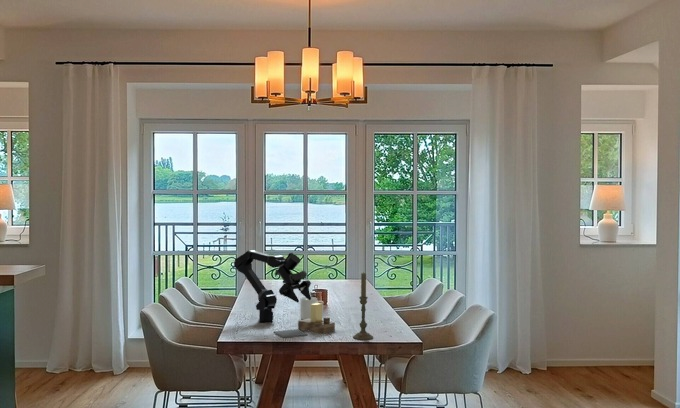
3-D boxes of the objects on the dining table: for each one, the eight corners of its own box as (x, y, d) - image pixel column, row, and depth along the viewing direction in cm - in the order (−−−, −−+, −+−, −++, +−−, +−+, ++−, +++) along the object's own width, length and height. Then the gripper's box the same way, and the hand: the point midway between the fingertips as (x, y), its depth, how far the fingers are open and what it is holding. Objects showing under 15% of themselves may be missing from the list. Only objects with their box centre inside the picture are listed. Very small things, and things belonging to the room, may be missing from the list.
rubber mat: (273, 332, 286) (273, 331, 286) (297, 330, 292) (297, 329, 292) (283, 338, 275) (283, 336, 275) (307, 335, 281) (307, 334, 281)
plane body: (298, 329, 295) (298, 315, 295) (308, 326, 301) (308, 313, 301) (324, 333, 285) (324, 319, 285) (334, 330, 292) (334, 317, 292)
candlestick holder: (372, 335, 282) (372, 270, 282) (374, 340, 273) (374, 273, 273) (352, 335, 282) (353, 270, 282) (353, 340, 273) (354, 272, 272)
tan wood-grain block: (310, 325, 292) (310, 304, 292) (317, 323, 296) (317, 302, 296) (315, 326, 290) (315, 304, 290) (322, 324, 294) (322, 303, 294)
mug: (299, 321, 314) (299, 299, 313) (300, 317, 322) (301, 296, 322) (323, 321, 314) (323, 299, 313) (323, 318, 322) (323, 297, 322)
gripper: (283, 267, 293) (301, 292, 287) (308, 264, 308) (325, 287, 302) (271, 282, 298) (288, 307, 291) (296, 278, 313) (313, 302, 306)
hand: (304, 300), depth 298 cm, fingers open, 9 cm apart
